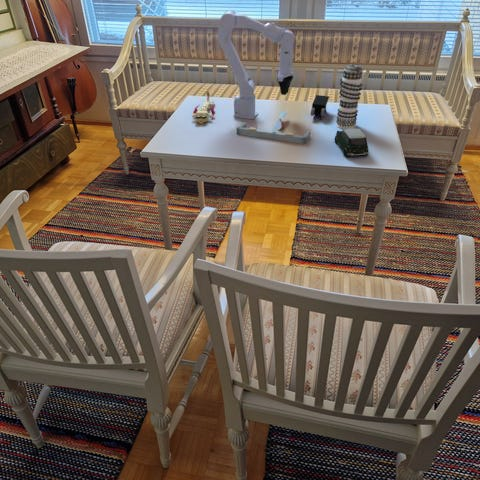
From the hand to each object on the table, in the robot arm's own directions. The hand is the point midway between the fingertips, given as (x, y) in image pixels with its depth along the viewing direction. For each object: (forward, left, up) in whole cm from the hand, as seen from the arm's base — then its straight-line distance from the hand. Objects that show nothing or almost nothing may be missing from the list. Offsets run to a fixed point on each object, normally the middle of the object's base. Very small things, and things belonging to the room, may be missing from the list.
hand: (284, 93), depth 189 cm
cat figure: (-35, -11, -11) cm, 38 cm away
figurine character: (+15, +7, -11) cm, 20 cm away
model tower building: (+29, -1, -11) cm, 31 cm away
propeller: (+3, -14, -11) cm, 18 cm away
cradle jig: (+3, -23, -10) cm, 25 cm away
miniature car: (+36, -25, -11) cm, 45 cm away
